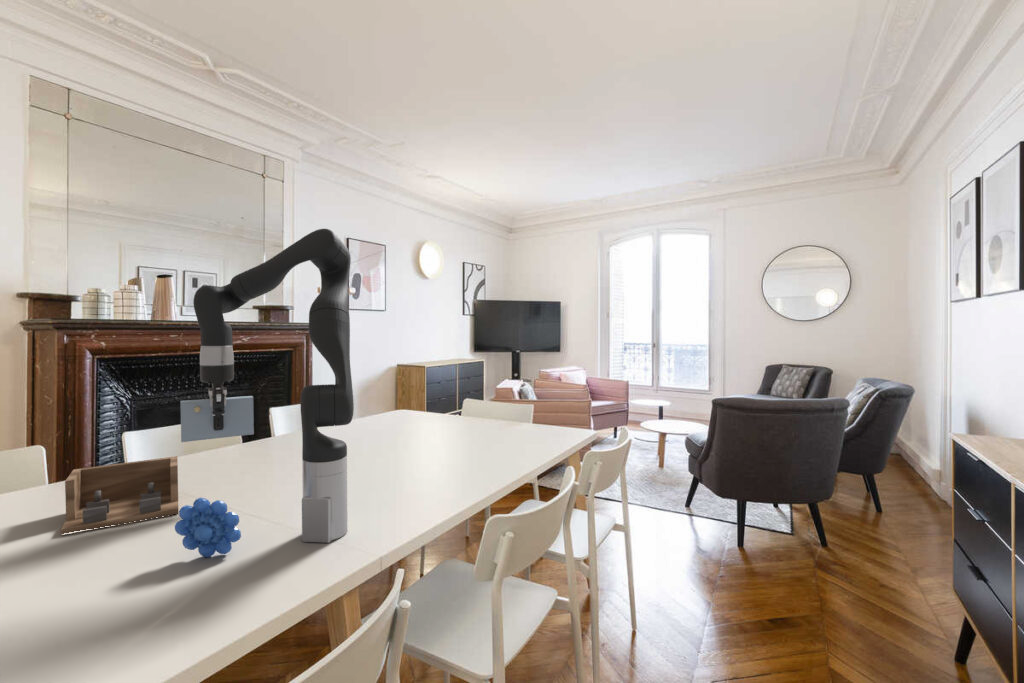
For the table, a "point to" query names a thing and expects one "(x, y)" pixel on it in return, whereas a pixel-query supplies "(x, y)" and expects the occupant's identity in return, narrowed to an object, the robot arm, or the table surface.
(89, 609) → the table surface
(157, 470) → the cabinet
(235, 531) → the blue flower
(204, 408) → the door
